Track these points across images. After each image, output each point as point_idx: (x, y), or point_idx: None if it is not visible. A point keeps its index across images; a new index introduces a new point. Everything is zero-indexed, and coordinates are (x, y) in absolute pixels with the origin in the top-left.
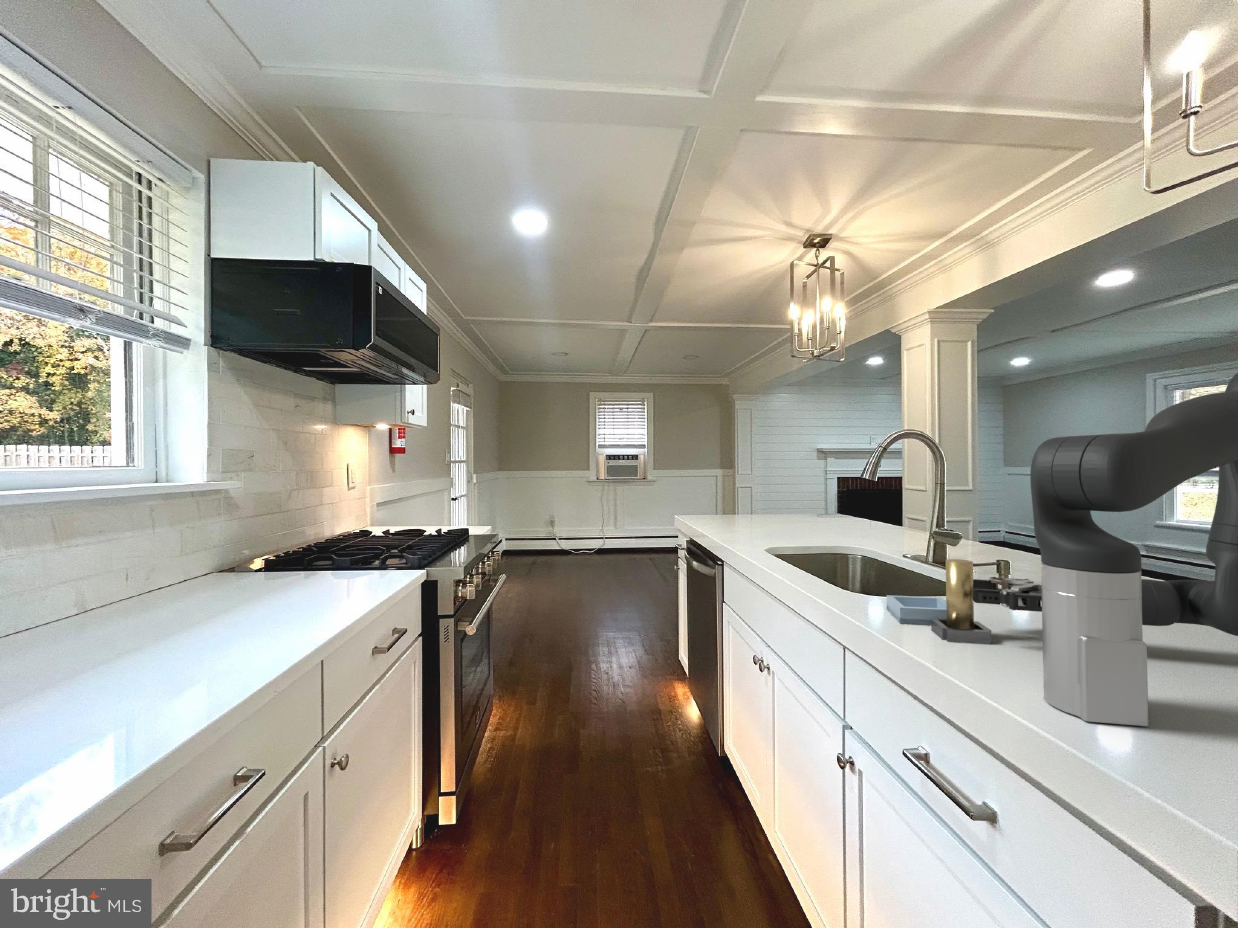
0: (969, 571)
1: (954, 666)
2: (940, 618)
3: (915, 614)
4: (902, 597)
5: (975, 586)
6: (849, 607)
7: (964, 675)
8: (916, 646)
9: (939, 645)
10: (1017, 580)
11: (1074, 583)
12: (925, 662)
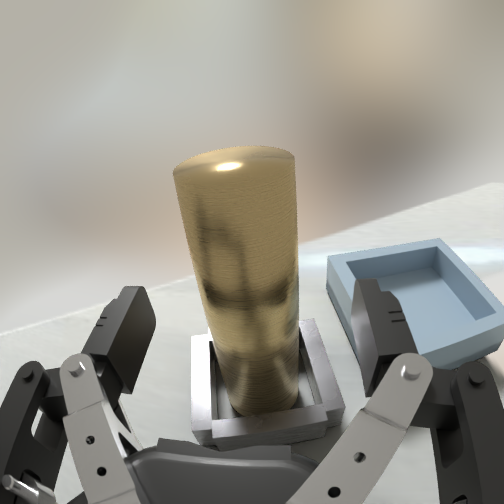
0: (185, 221)
1: (63, 340)
2: (315, 333)
3: (339, 291)
4: (448, 259)
5: (362, 333)
6: (409, 229)
7: (31, 342)
8: (164, 308)
9: (177, 342)
10: (341, 496)
11: None
12: (83, 310)
